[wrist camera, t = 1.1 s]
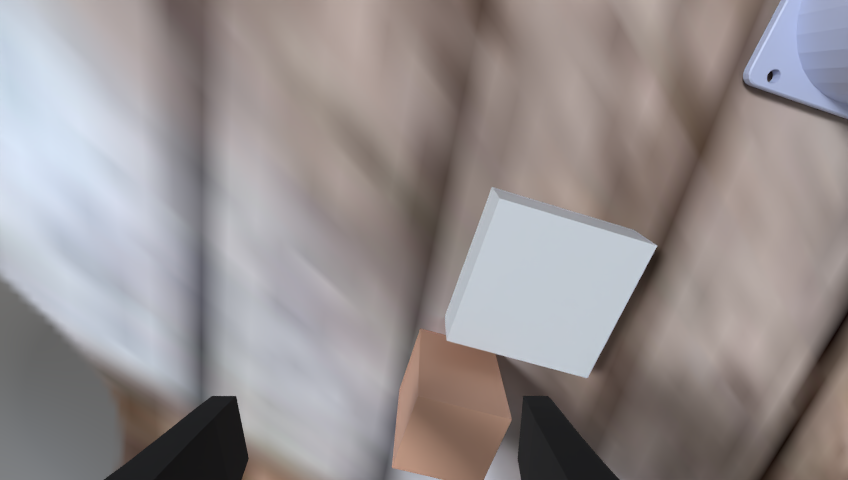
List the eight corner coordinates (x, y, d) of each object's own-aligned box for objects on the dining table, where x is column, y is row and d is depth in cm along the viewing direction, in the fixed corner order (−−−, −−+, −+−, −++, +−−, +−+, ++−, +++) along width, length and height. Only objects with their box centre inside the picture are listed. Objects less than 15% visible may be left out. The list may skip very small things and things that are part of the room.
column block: (493, 347, 22) (511, 419, 17) (469, 406, 23) (479, 487, 18) (420, 328, 21) (417, 396, 16) (399, 389, 23) (391, 467, 18)
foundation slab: (629, 227, 20) (657, 245, 17) (570, 347, 22) (587, 378, 20) (490, 185, 19) (499, 198, 17) (444, 313, 21) (446, 340, 19)
